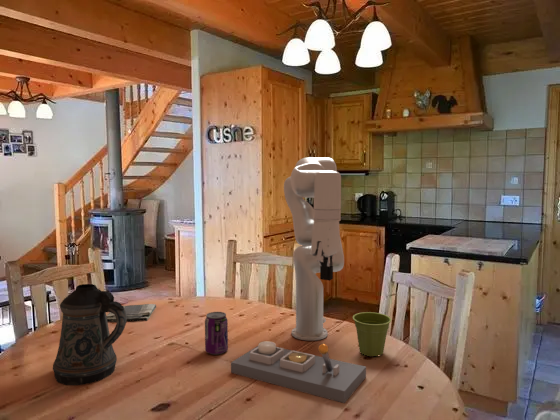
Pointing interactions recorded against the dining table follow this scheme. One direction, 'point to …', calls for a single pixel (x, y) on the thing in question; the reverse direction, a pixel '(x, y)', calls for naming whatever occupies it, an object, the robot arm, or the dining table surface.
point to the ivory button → (266, 347)
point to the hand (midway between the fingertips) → (326, 279)
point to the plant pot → (371, 332)
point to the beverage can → (216, 333)
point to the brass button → (298, 357)
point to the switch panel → (301, 373)
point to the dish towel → (135, 313)
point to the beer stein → (87, 336)
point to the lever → (325, 356)
